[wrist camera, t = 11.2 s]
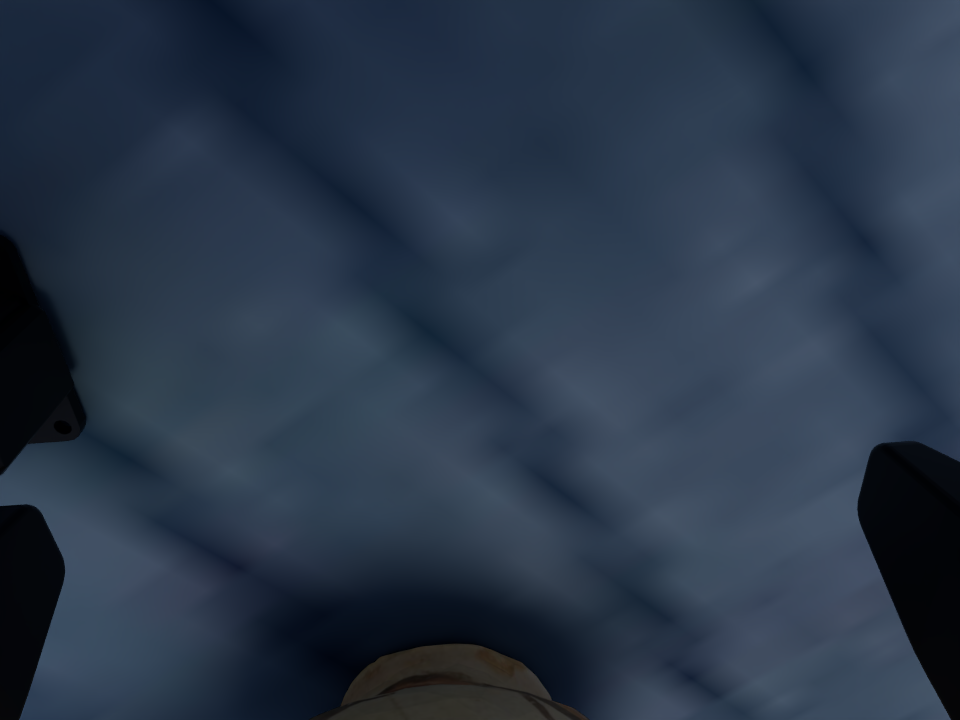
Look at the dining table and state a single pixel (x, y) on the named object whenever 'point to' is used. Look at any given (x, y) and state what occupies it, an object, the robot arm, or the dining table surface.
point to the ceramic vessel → (448, 688)
